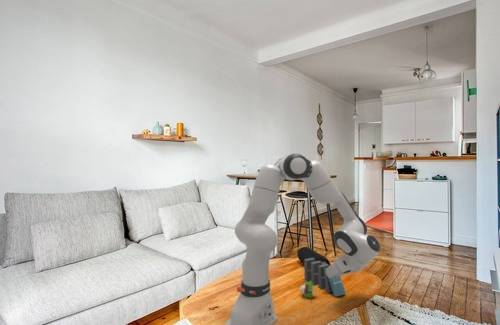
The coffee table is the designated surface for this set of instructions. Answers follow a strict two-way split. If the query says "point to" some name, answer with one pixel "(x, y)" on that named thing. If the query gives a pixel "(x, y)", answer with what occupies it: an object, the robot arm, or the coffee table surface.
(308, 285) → the geometric puzzle
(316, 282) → the domino
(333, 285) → the domino
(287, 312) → the coffee table surface
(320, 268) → the domino
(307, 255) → the portable speaker
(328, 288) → the domino
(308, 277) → the domino
